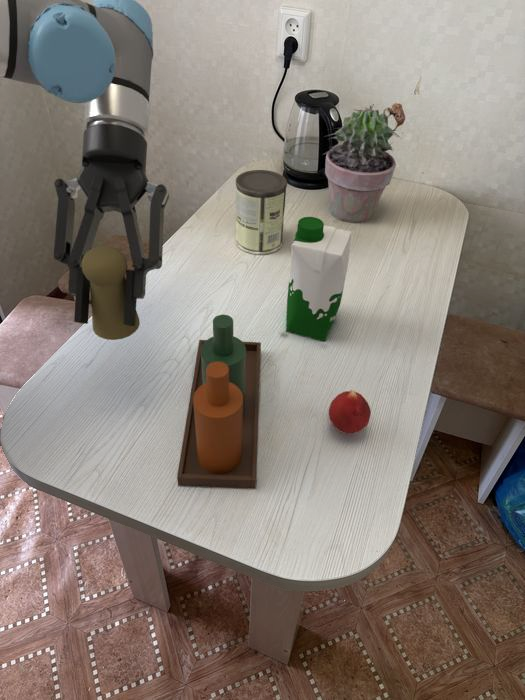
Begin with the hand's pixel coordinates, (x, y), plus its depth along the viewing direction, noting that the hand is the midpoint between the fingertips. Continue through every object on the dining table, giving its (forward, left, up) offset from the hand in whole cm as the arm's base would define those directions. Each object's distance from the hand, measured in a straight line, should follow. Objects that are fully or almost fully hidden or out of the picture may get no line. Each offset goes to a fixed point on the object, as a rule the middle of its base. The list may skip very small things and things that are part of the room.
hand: (105, 323), depth 61 cm
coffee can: (+18, +50, -18) cm, 56 cm away
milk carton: (+28, +23, -18) cm, 41 cm away
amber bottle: (+14, -6, -18) cm, 23 cm away
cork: (0, +4, -4) cm, 5 cm away
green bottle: (+14, +2, -18) cm, 23 cm away
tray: (+14, +2, -18) cm, 23 cm away
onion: (+32, 0, -18) cm, 37 cm away
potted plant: (+39, +65, -18) cm, 78 cm away
